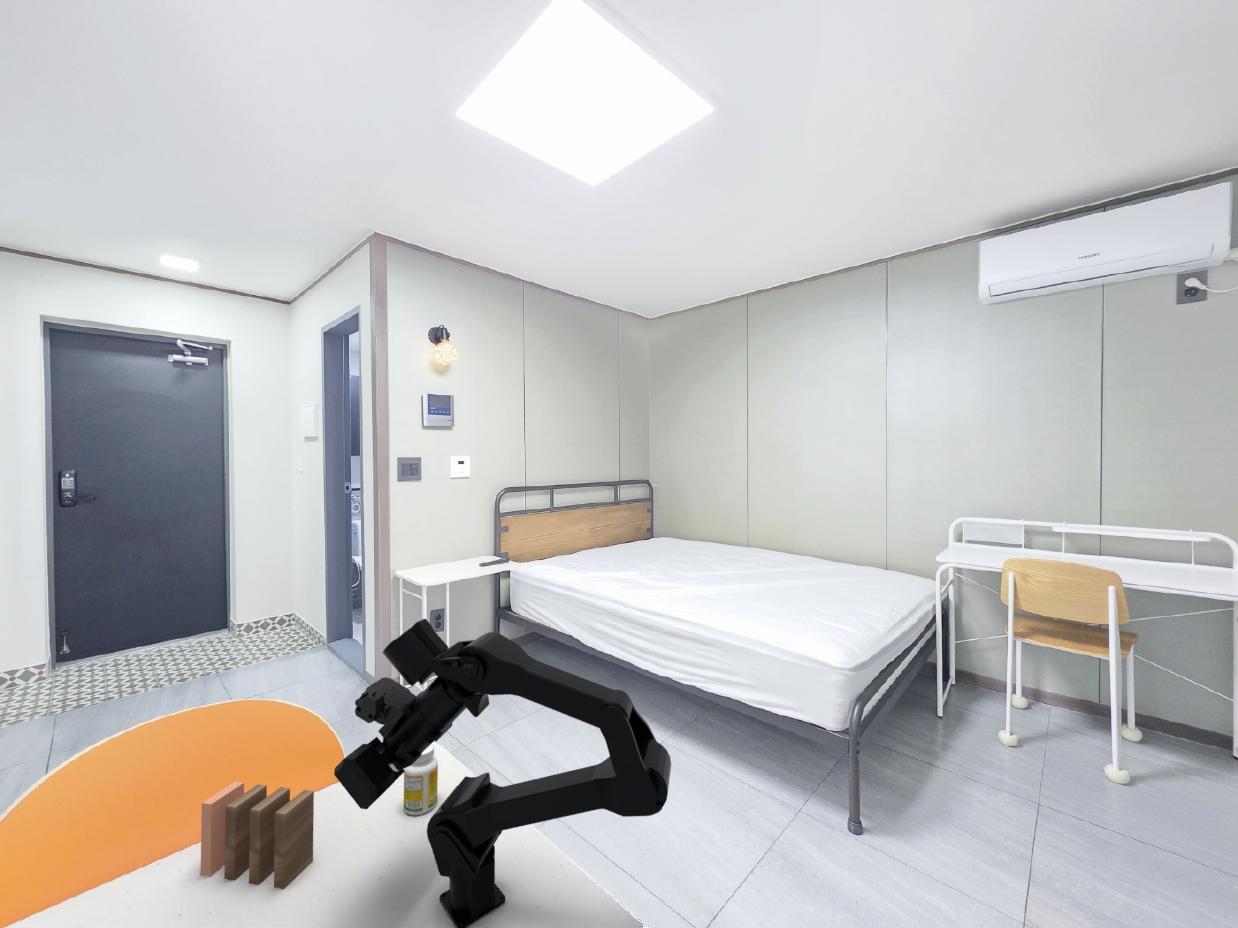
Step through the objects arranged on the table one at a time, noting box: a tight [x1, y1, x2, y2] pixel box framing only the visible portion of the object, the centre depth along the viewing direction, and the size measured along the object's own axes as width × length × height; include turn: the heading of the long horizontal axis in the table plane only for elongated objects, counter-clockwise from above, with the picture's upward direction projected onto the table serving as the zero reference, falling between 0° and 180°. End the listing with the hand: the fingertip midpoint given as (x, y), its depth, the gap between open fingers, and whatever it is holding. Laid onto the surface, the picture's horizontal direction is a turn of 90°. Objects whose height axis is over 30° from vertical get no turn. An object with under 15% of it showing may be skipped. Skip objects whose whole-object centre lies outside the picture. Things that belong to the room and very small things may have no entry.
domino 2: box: [223, 783, 268, 882], centre depth 71 cm, size 2×5×10 cm, turn 170°
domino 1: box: [199, 781, 245, 878], centre depth 72 cm, size 2×5×10 cm, turn 170°
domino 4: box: [273, 789, 315, 890], centre depth 70 cm, size 2×5×10 cm, turn 170°
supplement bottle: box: [403, 743, 439, 817], centre depth 84 cm, size 5×5×10 cm
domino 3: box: [248, 786, 291, 886], centre depth 71 cm, size 2×5×10 cm, turn 170°
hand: (361, 783), depth 68 cm, fingers closed
